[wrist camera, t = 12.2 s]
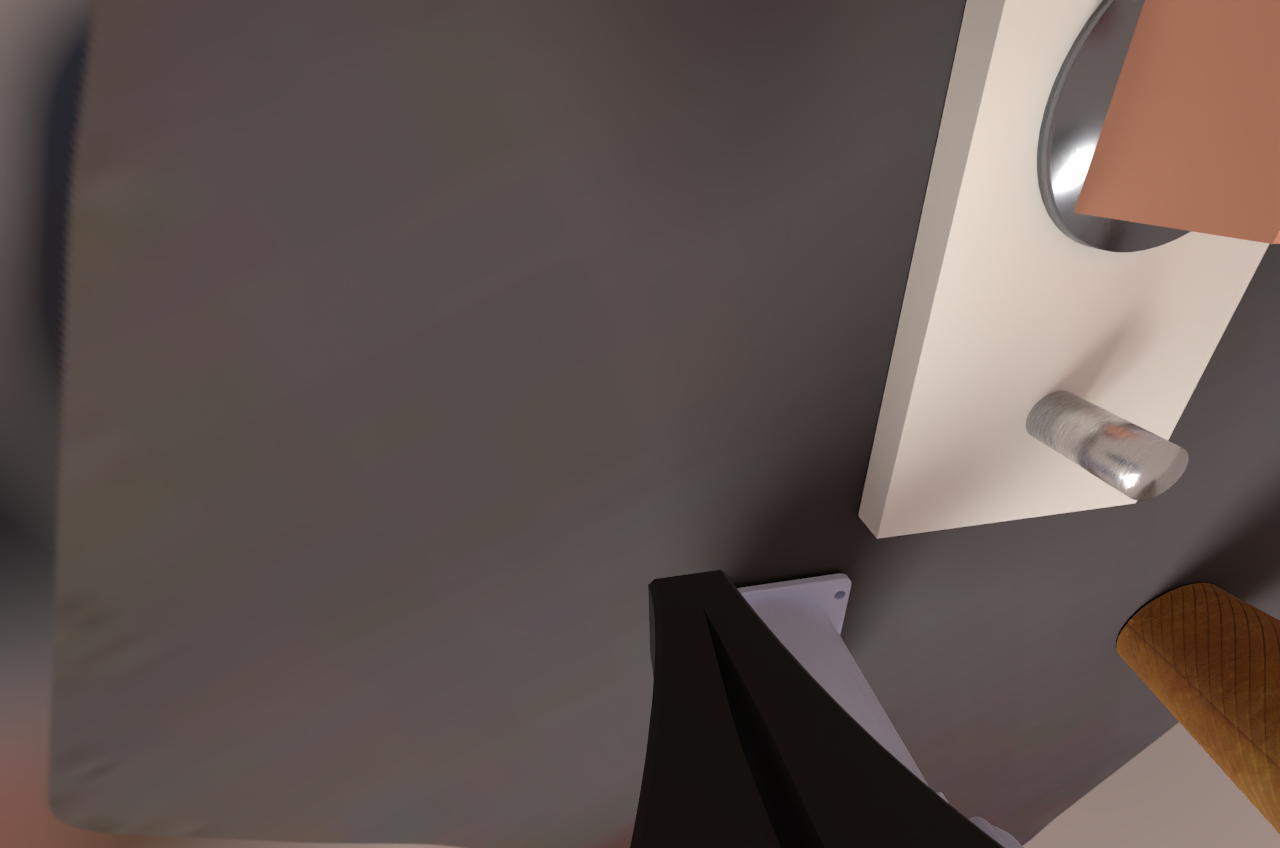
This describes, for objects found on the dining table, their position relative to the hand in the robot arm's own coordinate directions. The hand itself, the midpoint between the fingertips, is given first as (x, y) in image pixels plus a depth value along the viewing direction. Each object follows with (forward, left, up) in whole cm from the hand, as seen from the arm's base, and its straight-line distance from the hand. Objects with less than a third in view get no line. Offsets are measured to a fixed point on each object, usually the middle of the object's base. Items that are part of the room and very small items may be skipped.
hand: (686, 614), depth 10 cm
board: (+3, -16, -10) cm, 19 cm away
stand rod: (-2, -16, -8) cm, 18 cm away
